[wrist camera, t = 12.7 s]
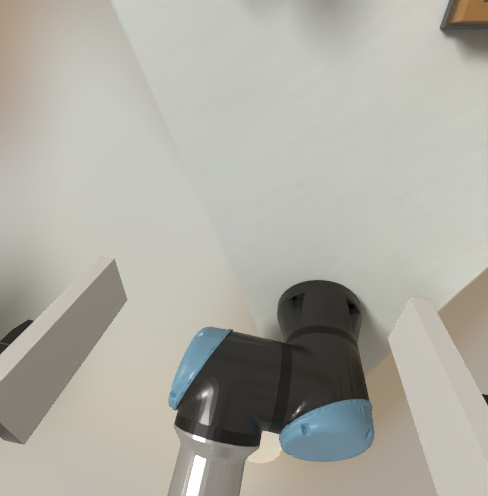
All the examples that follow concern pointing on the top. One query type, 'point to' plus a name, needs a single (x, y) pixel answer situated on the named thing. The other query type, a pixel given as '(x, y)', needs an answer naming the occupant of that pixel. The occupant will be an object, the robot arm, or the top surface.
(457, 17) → the brown open box
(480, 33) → the top surface
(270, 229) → the top surface
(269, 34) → the top surface
